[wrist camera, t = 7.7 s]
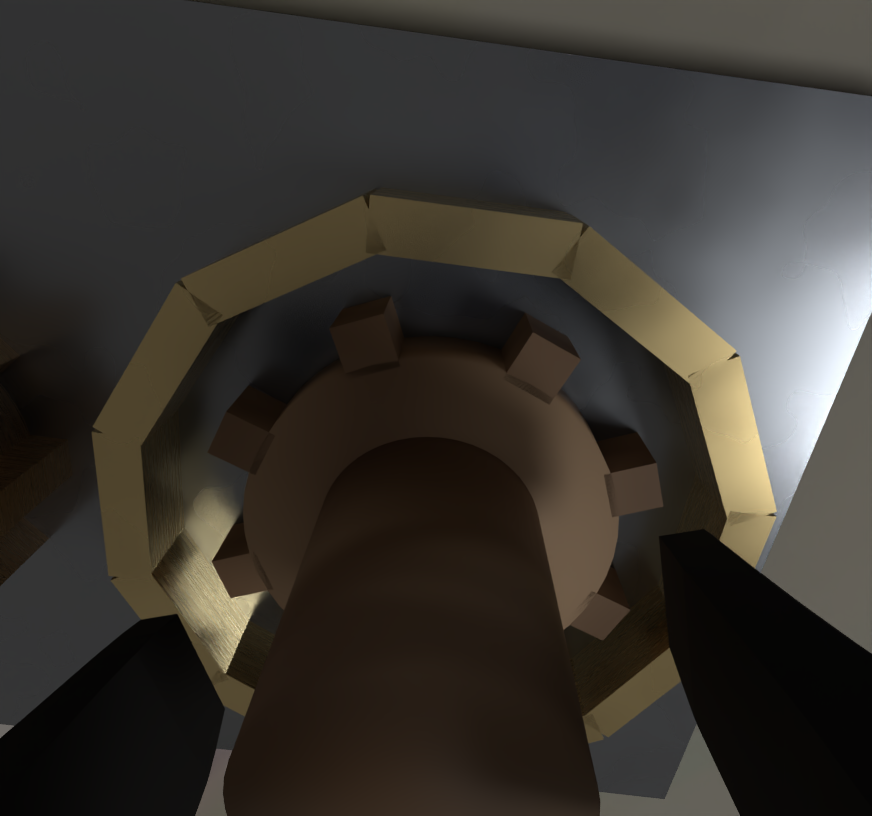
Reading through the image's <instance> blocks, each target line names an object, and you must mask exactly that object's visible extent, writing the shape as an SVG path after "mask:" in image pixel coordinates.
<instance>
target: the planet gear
mask: <svg viewBox="0 0 872 816" xmlns="http://www.w3.org/2000/svg"><path fill="white" fill-rule="evenodd" d="M329 330H330V332H331V335H332V338H333V341H334V343H335V346H336V349H337V352H338V354H339V357H340V359H338V360H336V361H334V362H333V363H331V364H330V365H328V366H327V367H325V368H324V369H322V370H321V371H319V372H318V373H317V374H315V375H314V376H313V377H312V378H311V379H310V380H309V381H308V382H307V383H306V384H304V385H303V386H302V387H301V388H300V389H299V390H298V392H297V393H296V394H295V395H294V396H293V398H292V399H291V400H290V401H289V403H288V404H285V403H283V402H281V401H279V400H277V399H275V398H273V397H271V396H269V395H267V394H265V393H263V392H261V391H259V390H257V389H255V388H253V387H251V386H249V385H248V386H247V388H246V389H245V390H244V391H243V392H242V393H241V395H240V396H239V397H238V398H237V399H236V400H235V402H234V403H233V404H232V405H231V406H230V407H229V409H228V410H227V411H226V413H225V415H224V417H223V419H222V421H221V424H220V426H219V428H218V430H217V432H216V435H215V437H214V439H213V441H212V443H211V446H210V448H209V450H208V452H207V453H209V454H211V455H213V456H215V457H217V458H220V459H222V460H224V461H226V462H228V463H230V464H232V465H234V466H236V467H239V468H241V469H243V470H245V471H247V472H249V474H248V479H247V483H246V488H245V492H244V505H243V520H244V523H239V524H235V525H233V526H232V527H231V529H230V531H229V533H228V534H227V536H226V538H225V539H224V541H223V543H222V545H221V546H220V548H219V550H218V552H217V553H216V555H215V557H214V558H213V560H212V564H213V566H214V568H215V569H216V571H217V573H218V575H219V577H220V579H221V581H222V583H223V585H224V587H225V589H226V591H227V592H228V594H229V596H230V598H235V597H239V596H244V595H249V594H253V593H258V592H263V591H269V593H270V594H271V595H272V597H273V598H274V599H275V601H276V602H277V603H278V605H279V606H280V607H281V608H282V609H283V610H284V612H283V614H282V617H281V620H280V622H279V625H278V628H277V631H276V633H275V636H274V639H273V641H272V644H271V647H270V650H269V652H268V655H267V658H266V661H265V663H264V666H263V669H262V671H261V674H260V677H259V680H258V682H257V685H256V688H255V690H254V693H253V696H252V699H251V701H250V704H249V707H248V710H247V712H246V715H245V718H244V720H243V723H242V726H241V729H240V731H239V734H238V737H237V739H236V742H235V745H234V748H233V750H232V753H231V756H230V758H229V761H228V765H227V769H226V772H225V776H224V787H223V796H224V804H225V810H226V813H227V816H600V797H599V791H598V784H597V780H596V775H595V771H594V766H593V762H592V757H591V753H590V748H589V744H588V739H587V734H586V730H585V725H584V721H583V716H582V712H581V707H580V703H579V698H578V693H577V689H576V684H575V680H574V675H573V671H572V666H571V662H570V657H569V653H568V648H567V643H566V639H565V634H564V629H565V628H566V627H568V626H569V625H571V626H573V627H575V628H577V629H579V630H581V631H584V632H586V633H588V634H590V635H592V636H594V637H596V638H598V639H600V640H604V639H605V638H606V637H607V635H608V634H609V633H610V632H611V631H612V630H613V629H614V628H615V627H616V625H617V624H618V623H619V622H620V621H621V620H622V619H623V618H624V617H625V615H626V614H627V613H628V612H629V611H630V607H629V604H628V602H627V599H626V596H625V594H624V591H623V588H622V586H621V583H620V580H619V578H618V575H617V572H616V570H615V569H614V568H612V567H610V565H611V562H612V560H613V557H614V553H615V548H616V543H617V538H618V524H619V516H621V515H626V514H631V513H635V512H640V511H645V510H650V509H654V508H659V507H663V501H662V494H661V488H660V482H659V475H658V469H657V463H656V461H655V460H654V458H653V456H652V455H651V453H650V452H649V450H648V448H647V447H646V445H645V444H644V442H643V440H642V439H641V437H640V436H639V434H638V432H635V433H631V434H627V435H622V436H618V437H614V438H609V439H605V440H601V441H596V440H595V438H594V436H593V434H592V432H591V429H590V427H589V425H588V423H587V421H586V420H585V418H584V417H583V415H582V414H581V412H580V411H579V409H578V407H577V406H576V404H575V403H574V402H573V401H572V400H571V399H570V398H569V396H568V395H567V394H566V393H565V392H564V391H563V390H562V388H561V387H562V386H563V385H564V383H565V382H566V380H567V379H568V377H569V376H570V375H571V373H572V372H573V370H574V369H575V367H576V366H577V365H578V363H579V362H580V360H581V359H580V357H579V355H578V353H577V352H576V350H575V348H574V346H573V345H572V343H571V341H570V339H569V338H568V337H567V336H565V335H564V334H562V333H560V332H558V331H557V330H555V329H553V328H551V327H550V326H548V325H546V324H544V323H543V322H541V321H539V320H537V319H536V318H534V317H532V316H530V315H529V314H527V313H524V315H523V317H522V318H521V320H520V321H519V323H518V324H517V326H516V328H515V329H514V331H513V332H512V334H511V335H510V337H509V338H508V340H507V342H506V343H505V345H504V346H503V348H502V349H498V348H495V347H492V346H489V345H486V344H483V343H480V342H475V341H470V340H465V339H459V338H454V337H437V336H421V337H406V338H404V335H403V332H402V329H401V326H400V322H399V319H398V316H397V313H396V310H395V306H394V303H393V300H392V297H391V296H389V297H385V298H381V299H378V300H374V301H371V302H367V303H363V304H360V305H356V306H352V307H349V308H345V309H342V310H341V312H340V313H339V315H338V316H337V318H336V319H335V321H334V322H333V324H332V325H331V327H330V328H329Z"/></svg>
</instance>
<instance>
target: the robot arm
mask: <svg viewBox="0 0 872 816" xmlns="http://www.w3.org/2000/svg"><path fill="white" fill-rule="evenodd" d="M659 545H660V555H661V566H662V577H663V587H664V598H665V608H666V619H667V629H668V640H669V648H670V651H671V654H672V656H673V659H674V662H675V665H676V668H677V671H678V674H679V677H680V680H681V682H682V685H683V688H684V691H685V694H686V696H687V699H688V702H689V705H690V708H691V710H692V713H693V716H694V719H695V721H696V723H697V725H698V727H699V730H700V732H701V734H702V736H703V738H704V740H705V742H706V744H707V747H708V749H709V751H710V753H711V755H712V757H713V759H714V761H715V764H716V766H717V768H718V770H719V772H720V774H721V776H722V778H723V781H724V783H725V785H726V787H727V789H728V791H729V793H730V795H731V797H732V799H733V802H734V804H735V806H736V808H737V810H738V812H739V814H740V816H872V654H871V653H870V652H868V651H867V650H865V649H864V648H863V647H861V646H860V645H858V644H857V643H855V642H854V641H852V640H851V639H850V638H848V637H847V636H846V635H844V634H843V633H841V632H840V631H839V630H837V629H836V628H834V627H833V626H832V625H830V624H829V623H827V622H826V621H825V620H823V619H822V618H820V617H819V616H818V615H816V614H815V613H813V612H812V611H811V610H809V609H808V608H806V607H805V606H804V605H802V604H801V603H800V602H798V601H797V600H796V599H794V598H793V597H792V596H790V595H789V594H788V593H786V592H785V591H784V590H782V589H781V588H780V587H779V586H777V585H776V584H775V583H773V582H772V581H771V580H769V579H768V578H767V577H766V576H764V575H763V574H762V573H760V572H759V571H758V570H756V569H755V568H754V567H753V566H751V565H750V564H749V563H748V562H746V561H745V560H744V559H742V558H741V557H740V556H739V555H737V554H736V553H735V552H734V551H732V550H731V549H730V548H729V547H727V546H726V545H725V544H724V543H722V542H721V541H720V540H718V539H717V538H716V537H715V536H713V535H712V534H711V533H709V532H708V531H706V530H705V529H700V530H694V531H688V532H682V533H676V534H669V535H663V536H659ZM224 711H225V708H224V706H223V704H222V702H221V700H220V698H219V696H218V694H217V692H216V690H215V688H214V686H213V684H212V682H211V680H210V678H209V676H208V674H207V672H206V670H205V668H204V666H203V664H202V662H201V660H200V658H199V656H198V654H197V652H196V650H195V648H194V646H193V644H192V642H191V640H190V638H189V636H188V634H187V632H186V630H185V628H184V626H183V624H182V622H181V620H180V618H179V616H178V614H172V615H166V616H160V617H154V618H147V619H141V620H140V621H138V622H137V623H136V624H134V625H133V626H132V627H130V628H129V629H127V630H126V631H125V632H124V633H122V634H121V635H120V636H119V637H117V638H116V639H115V640H114V641H112V642H111V643H110V644H109V645H108V646H106V647H105V648H104V649H103V650H102V651H100V652H99V653H98V654H97V655H96V656H95V657H93V658H92V659H91V660H90V661H89V662H88V663H86V664H85V665H84V666H83V667H82V668H81V669H79V670H78V671H77V672H76V673H75V674H74V675H73V676H71V677H70V678H69V679H68V680H67V681H66V682H64V683H63V684H62V685H61V686H60V687H59V688H58V689H56V690H55V691H54V692H53V693H52V694H51V695H50V696H48V697H47V698H46V699H45V700H44V701H43V702H41V703H40V704H39V705H38V706H37V707H36V708H35V709H33V710H32V711H31V712H30V713H29V714H28V715H27V716H25V717H24V718H23V719H22V720H21V721H20V722H18V723H17V724H16V725H15V726H14V727H13V728H12V729H11V730H9V731H8V732H7V733H6V734H5V735H3V736H2V737H1V738H0V816H195V814H196V812H197V809H198V806H199V803H200V801H201V798H202V795H203V792H204V789H205V787H206V784H207V781H208V777H209V774H210V770H211V766H212V762H213V758H214V755H215V751H216V747H217V743H218V738H219V734H220V729H221V725H222V720H223V716H224Z"/></svg>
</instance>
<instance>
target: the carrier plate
mask: <svg viewBox="0 0 872 816" xmlns="http://www.w3.org/2000/svg"><path fill="white" fill-rule="evenodd" d="M389 296H391V297H392V300H393V303H394V306H395V310H396V313H397V316H398V319H399V322H400V326H401V329H402V332H403V335H404V338H406V337H421V336H437V337H454V338H459V339H465V340H470V341H475V342H480V343H483V344H486V345H489V346H492V347H495V348H498V349H502V348H503V346H504V345H505V343H506V342H507V340H508V338H509V337H510V335H511V334H512V332H513V331H514V329H515V328H516V326H517V324H518V323H519V321H520V320H521V318H522V317H523V315H524V313H527V314H529V315H530V316H532V317H534V318H536V319H537V320H539V321H541V322H543V323H544V324H546V325H548V326H550V327H551V328H553V329H555V330H557V331H558V332H560V333H562V334H564V335H565V336H567V337H568V338H569V339H570V341H571V343H572V345H573V346H574V348H575V350H576V352H577V353H578V355H579V357H580V359H581V360H580V362H579V363H578V365H577V366H576V367H575V369H574V370H573V372H572V373H571V375H570V376H569V377H568V379H567V380H566V382H565V383H564V385H563V386H562V387H561V388H562V390H563V391H564V392H565V393H566V394H567V395H568V396H569V398H570V399H571V400H572V401H573V402H574V403H575V404H576V406H577V407H578V409H579V411H580V412H581V414H582V415H583V417H584V418H585V420H586V421H587V423H588V425H589V427H590V429H591V432H592V434H593V436H594V438H595V440H596V441H601V440H605V439H609V438H614V437H618V436H622V435H627V434H631V433H635V432H638V434H639V436H640V437H641V439H642V440H643V442H644V444H645V445H646V447H647V448H648V450H649V452H650V453H651V455H652V456H653V458H654V460H655V461H656V463H657V469H658V475H659V482H660V488H661V494H662V501H663V507H659V508H654V509H650V510H645V511H640V512H635V513H631V514H626V515H621V516H619V524H618V538H617V543H616V548H615V553H614V557H613V560H612V562H611V565H610V567H612V568H614V569H615V570H616V572H617V575H618V578H619V580H620V583H621V586H622V588H623V591H624V594H625V596H626V599H627V602H628V604H629V607H630V611H629V612H628V613H627V614H626V615H625V617H624V618H623V619H622V620H621V621H620V622H619V623H618V624H617V625H616V627H615V628H614V629H613V630H612V631H611V632H610V633H609V634H608V635H607V637H606V638H605V639H604V640H600V639H598V638H596V637H594V636H592V635H590V634H588V633H586V632H584V631H581V630H579V629H577V628H575V627H573V626H571V625H569V626H568V627H566V628H565V629H564V634H565V639H566V643H567V648H568V653H569V657H570V662H571V666H572V671H573V675H574V680H575V684H576V689H577V693H578V698H579V703H580V707H581V712H582V716H583V721H584V725H585V730H586V734H587V739H588V744H589V748H590V753H591V757H592V762H593V766H594V771H595V775H596V780H597V784H598V791H599V792H607V793H616V794H625V795H633V796H642V797H651V798H660V799H665V797H666V794H667V792H668V789H669V787H670V785H671V782H672V780H673V778H674V775H675V773H676V771H677V768H678V766H679V764H680V761H681V759H682V757H683V754H684V752H685V749H686V747H687V745H688V742H689V740H690V738H691V735H692V733H693V731H694V728H695V726H696V724H697V723H696V721H695V719H694V716H693V713H692V710H691V708H690V705H689V702H688V699H687V696H686V694H685V691H684V688H683V685H682V682H681V680H680V677H679V674H678V671H677V668H676V665H675V662H674V659H673V656H672V654H671V651H670V648H669V640H668V629H667V619H666V608H665V598H664V587H663V577H662V566H661V555H660V545H659V536H663V535H669V534H676V533H682V532H688V531H694V530H700V529H705V530H706V531H708V532H709V533H711V534H712V535H713V536H715V537H716V538H717V539H718V540H720V541H721V542H722V543H724V544H725V545H726V546H727V547H729V548H730V549H731V550H732V551H734V552H735V553H736V554H737V555H739V556H740V557H741V558H742V559H744V560H745V561H746V562H748V563H749V564H750V565H751V566H753V567H754V568H755V569H756V570H758V571H759V572H760V573H761V571H762V568H763V566H764V564H765V561H766V559H767V556H768V554H769V552H770V549H771V547H772V545H773V542H774V540H775V538H776V535H777V533H778V531H779V528H780V526H781V524H782V521H783V519H784V516H785V514H786V512H787V509H788V507H789V505H790V502H791V500H792V498H793V495H794V493H795V491H796V488H797V486H798V484H799V481H800V479H801V476H802V474H803V472H804V469H805V467H806V465H807V462H808V460H809V458H810V455H811V453H812V451H813V448H814V446H815V444H816V441H817V439H818V436H819V434H820V432H821V429H822V427H823V425H824V422H825V420H826V418H827V415H828V413H829V411H830V408H831V406H832V403H833V401H834V399H835V396H836V394H837V392H838V389H839V387H840V385H841V382H842V380H843V378H844V375H845V373H846V371H847V368H848V366H849V363H850V361H851V359H852V356H853V354H854V352H855V349H856V347H857V345H858V342H859V340H860V338H861V335H862V333H863V331H864V328H865V326H866V323H867V321H868V319H869V316H870V314H871V312H872V96H866V95H859V94H851V93H844V92H837V91H830V90H823V89H816V88H809V87H802V86H794V85H787V84H780V83H773V82H766V81H759V80H752V79H744V78H737V77H730V76H723V75H716V74H709V73H702V72H694V71H687V70H680V69H673V68H666V67H659V66H652V65H644V64H637V63H630V62H623V61H616V60H609V59H602V58H595V57H587V56H580V55H573V54H566V53H559V52H552V51H545V50H537V49H530V48H523V47H516V46H509V45H502V44H495V43H487V42H480V41H473V40H466V39H459V38H452V37H445V36H437V35H430V34H423V33H416V32H409V31H402V30H395V29H388V28H380V27H373V26H366V25H359V24H352V23H345V22H338V21H330V20H323V19H316V18H309V17H302V16H295V15H288V14H280V13H273V12H266V11H259V10H252V9H245V8H238V7H230V6H223V5H216V4H209V3H202V2H195V1H188V0H0V724H6V725H14V726H15V725H16V724H17V723H18V722H20V721H21V720H22V719H23V718H24V717H25V716H27V715H28V714H29V713H30V712H31V711H32V710H33V709H35V708H36V707H37V706H38V705H39V704H40V703H41V702H43V701H44V700H45V699H46V698H47V697H48V696H50V695H51V694H52V693H53V692H54V691H55V690H56V689H58V688H59V687H60V686H61V685H62V684H63V683H64V682H66V681H67V680H68V679H69V678H70V677H71V676H73V675H74V674H75V673H76V672H77V671H78V670H79V669H81V668H82V667H83V666H84V665H85V664H86V663H88V662H89V661H90V660H91V659H92V658H93V657H95V656H96V655H97V654H98V653H99V652H100V651H102V650H103V649H104V648H105V647H106V646H108V645H109V644H110V643H111V642H112V641H114V640H115V639H116V638H117V637H119V636H120V635H121V634H122V633H124V632H125V631H126V630H127V629H129V628H130V627H132V626H133V625H134V624H136V623H137V622H138V621H140V620H141V619H147V618H154V617H160V616H166V615H172V614H178V616H179V618H180V620H181V622H182V624H183V626H184V628H185V630H186V632H187V634H188V636H189V638H190V640H191V642H192V644H193V646H194V648H195V650H196V652H197V654H198V656H199V658H200V660H201V662H202V664H203V666H204V668H205V670H206V672H207V674H208V676H209V678H210V680H211V682H212V684H213V686H214V688H215V690H216V692H217V694H218V696H219V698H220V700H221V702H222V704H223V706H224V708H225V711H224V716H223V720H222V725H221V729H220V734H219V738H218V743H217V747H216V748H218V749H227V750H233V748H234V745H235V742H236V739H237V737H238V734H239V731H240V729H241V726H242V723H243V720H244V718H245V715H246V712H247V710H248V707H249V704H250V701H251V699H252V696H253V693H254V690H255V688H256V685H257V682H258V680H259V677H260V674H261V671H262V669H263V666H264V663H265V661H266V658H267V655H268V652H269V650H270V647H271V644H272V641H273V639H274V636H275V633H276V631H277V628H278V625H279V622H280V620H281V617H282V614H283V612H284V610H283V609H282V608H281V607H280V606H279V605H278V603H277V602H276V601H275V599H274V598H273V597H272V595H271V594H270V593H269V591H263V592H258V593H253V594H249V595H244V596H239V597H235V598H230V596H229V594H228V592H227V591H226V589H225V587H224V585H223V583H222V581H221V579H220V577H219V575H218V573H217V571H216V569H215V568H214V566H213V564H212V560H213V558H214V557H215V555H216V553H217V552H218V550H219V548H220V546H221V545H222V543H223V541H224V539H225V538H226V536H227V534H228V533H229V531H230V529H231V527H232V526H233V525H235V524H239V523H244V520H243V505H244V492H245V488H246V483H247V479H248V474H249V472H247V471H245V470H243V469H241V468H239V467H236V466H234V465H232V464H230V463H228V462H226V461H224V460H222V459H220V458H217V457H215V456H213V455H211V454H209V453H207V452H208V450H209V448H210V446H211V443H212V441H213V439H214V437H215V435H216V432H217V430H218V428H219V426H220V424H221V421H222V419H223V417H224V415H225V413H226V411H227V410H228V409H229V407H230V406H231V405H232V404H233V403H234V402H235V400H236V399H237V398H238V397H239V396H240V395H241V393H242V392H243V391H244V390H245V389H246V388H247V386H248V385H249V386H251V387H253V388H255V389H257V390H259V391H261V392H263V393H265V394H267V395H269V396H271V397H273V398H275V399H277V400H279V401H281V402H283V403H285V404H288V403H289V401H290V400H291V399H292V398H293V396H294V395H295V394H296V393H297V392H298V390H299V389H300V388H301V387H302V386H303V385H304V384H306V383H307V382H308V381H309V380H310V379H311V378H312V377H313V376H314V375H315V374H317V373H318V372H319V371H321V370H322V369H324V368H325V367H327V366H328V365H330V364H331V363H333V362H334V361H336V360H338V359H340V357H339V354H338V352H337V349H336V346H335V343H334V341H333V338H332V335H331V332H330V330H329V328H330V327H331V325H332V324H333V322H334V321H335V319H336V318H337V316H338V315H339V313H340V312H341V310H342V309H345V308H349V307H352V306H356V305H360V304H363V303H367V302H371V301H374V300H378V299H381V298H385V297H389Z"/></svg>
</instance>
